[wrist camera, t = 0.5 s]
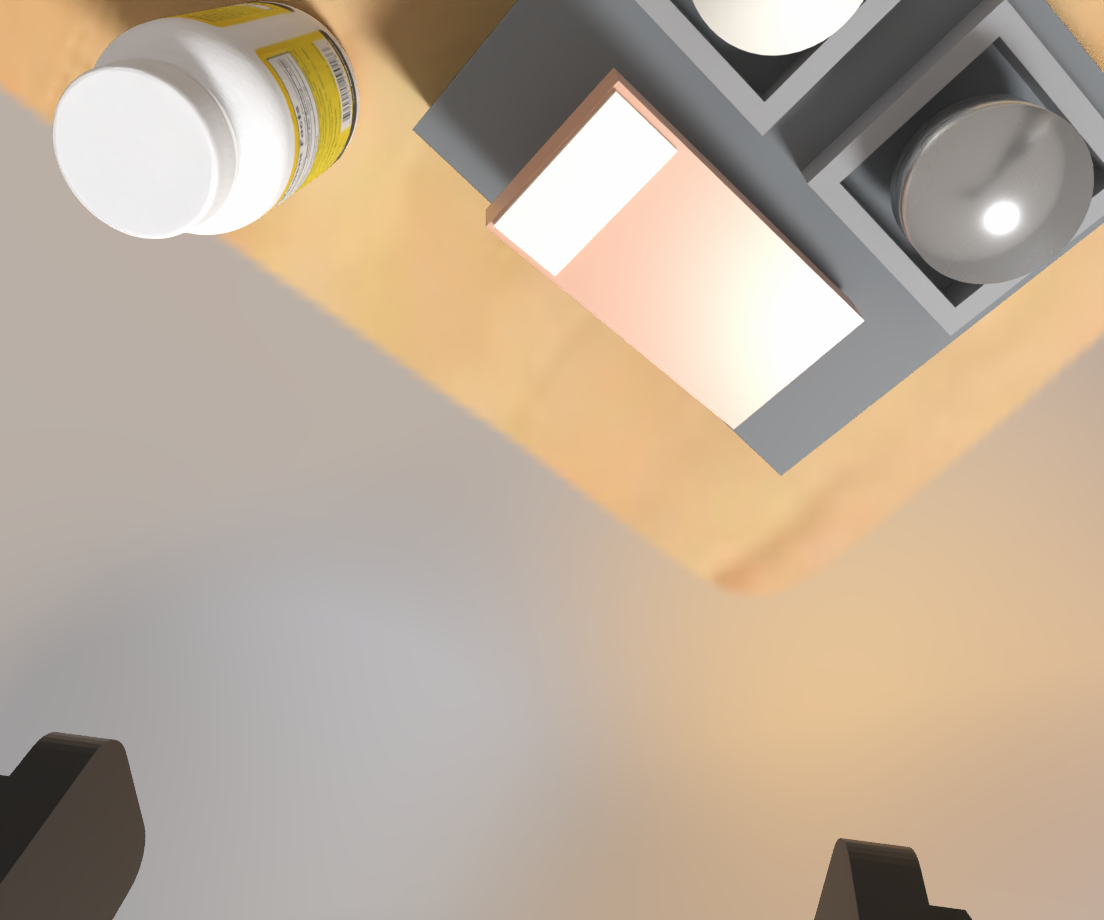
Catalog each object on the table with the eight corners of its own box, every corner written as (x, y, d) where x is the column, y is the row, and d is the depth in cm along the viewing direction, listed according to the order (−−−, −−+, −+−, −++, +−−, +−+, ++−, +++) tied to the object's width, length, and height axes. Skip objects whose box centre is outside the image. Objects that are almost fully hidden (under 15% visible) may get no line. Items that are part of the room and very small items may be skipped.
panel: (772, -300, 25) (791, -344, 21) (1130, 144, 29) (1203, 177, 25) (434, 113, 31) (399, 139, 27) (773, 435, 35) (785, 498, 31)
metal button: (996, 54, 24) (1021, 63, 22) (1099, 178, 25) (1131, 196, 24) (855, 182, 26) (868, 200, 24) (957, 293, 27) (977, 317, 25)
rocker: (613, 67, 24) (618, 82, 23) (852, 301, 29) (865, 323, 28) (486, 209, 26) (485, 229, 25) (726, 407, 31) (734, 432, 30)
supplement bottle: (171, 110, 32) (-14, 173, 23) (247, -39, 29) (71, -30, 21) (312, 212, 33) (185, 309, 24) (395, 77, 30) (288, 131, 22)
